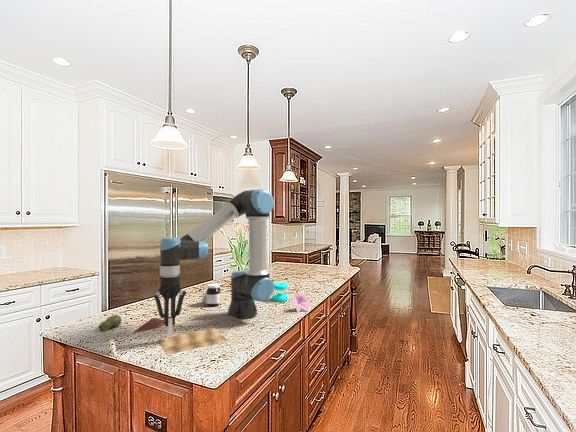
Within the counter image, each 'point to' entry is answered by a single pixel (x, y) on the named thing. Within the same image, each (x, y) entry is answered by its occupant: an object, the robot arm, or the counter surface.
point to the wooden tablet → (151, 325)
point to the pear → (110, 323)
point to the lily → (300, 301)
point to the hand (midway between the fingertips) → (169, 333)
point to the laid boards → (194, 344)
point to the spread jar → (212, 295)
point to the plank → (188, 337)
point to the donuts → (280, 296)
